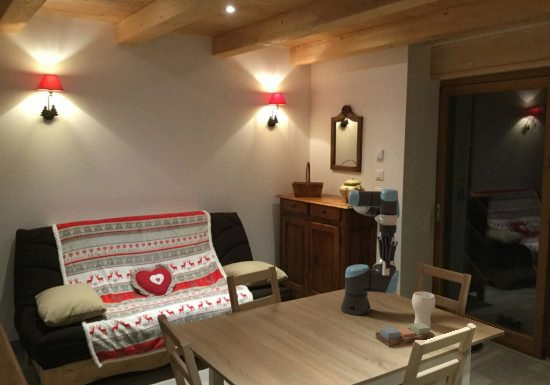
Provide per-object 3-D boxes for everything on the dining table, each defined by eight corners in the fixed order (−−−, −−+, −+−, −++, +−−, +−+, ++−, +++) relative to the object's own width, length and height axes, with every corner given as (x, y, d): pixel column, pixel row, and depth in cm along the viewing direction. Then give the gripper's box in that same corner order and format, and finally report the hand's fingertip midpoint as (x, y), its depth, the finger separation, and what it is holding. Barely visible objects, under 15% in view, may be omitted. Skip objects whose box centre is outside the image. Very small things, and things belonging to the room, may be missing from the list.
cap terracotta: (395, 336, 217) (395, 329, 217) (406, 334, 219) (406, 327, 219) (403, 341, 211) (403, 334, 211) (414, 339, 213) (415, 332, 213)
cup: (435, 330, 226) (437, 299, 224) (411, 328, 228) (413, 297, 226) (432, 322, 236) (434, 292, 235) (410, 320, 238) (411, 290, 237)
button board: (388, 346, 206) (388, 341, 206) (375, 337, 215) (375, 332, 215) (434, 339, 215) (434, 334, 215) (420, 331, 224) (420, 326, 224)
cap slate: (380, 335, 214) (380, 328, 213) (391, 333, 216) (391, 326, 216) (388, 340, 208) (388, 333, 208) (399, 338, 210) (400, 331, 210)
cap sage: (410, 330, 220) (410, 324, 219) (421, 329, 222) (421, 322, 221) (418, 335, 214) (419, 329, 214) (429, 333, 216) (430, 327, 216)
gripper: (373, 221, 223) (370, 271, 226) (389, 226, 211) (387, 279, 214) (386, 221, 226) (384, 270, 229) (403, 225, 214) (401, 278, 217)
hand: (385, 274), depth 221 cm, fingers closed
